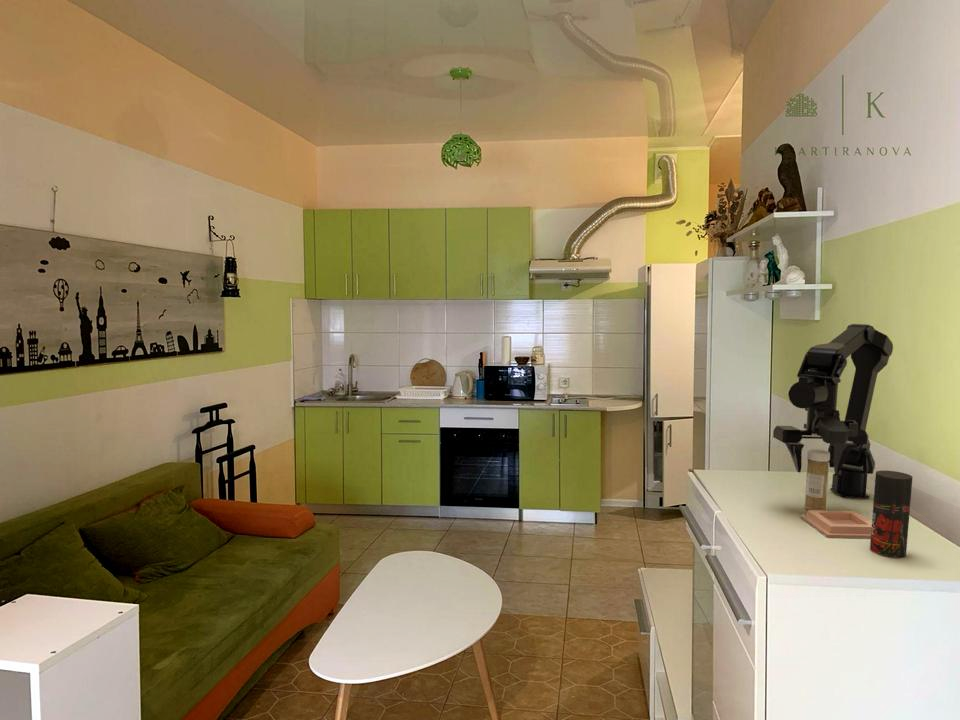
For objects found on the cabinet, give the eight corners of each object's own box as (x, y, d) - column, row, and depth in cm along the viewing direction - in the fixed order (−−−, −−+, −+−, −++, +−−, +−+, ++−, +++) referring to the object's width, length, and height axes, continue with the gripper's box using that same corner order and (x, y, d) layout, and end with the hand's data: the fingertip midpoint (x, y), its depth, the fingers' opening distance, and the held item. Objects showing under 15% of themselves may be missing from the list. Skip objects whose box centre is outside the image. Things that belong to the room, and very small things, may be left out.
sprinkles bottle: (830, 510, 155) (834, 451, 153) (818, 513, 152) (823, 454, 151) (811, 504, 158) (814, 447, 157) (799, 508, 156) (803, 450, 154)
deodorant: (862, 546, 133) (868, 470, 131) (892, 545, 134) (898, 470, 132) (883, 558, 127) (889, 479, 126) (913, 557, 128) (920, 479, 126)
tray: (855, 518, 149) (856, 509, 149) (887, 538, 137) (888, 529, 137) (800, 517, 149) (800, 508, 149) (827, 537, 137) (828, 528, 137)
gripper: (796, 409, 145) (791, 481, 146) (885, 411, 145) (879, 483, 146) (774, 400, 156) (770, 468, 158) (857, 402, 156) (852, 469, 157)
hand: (817, 472), depth 154 cm, fingers open, 8 cm apart
